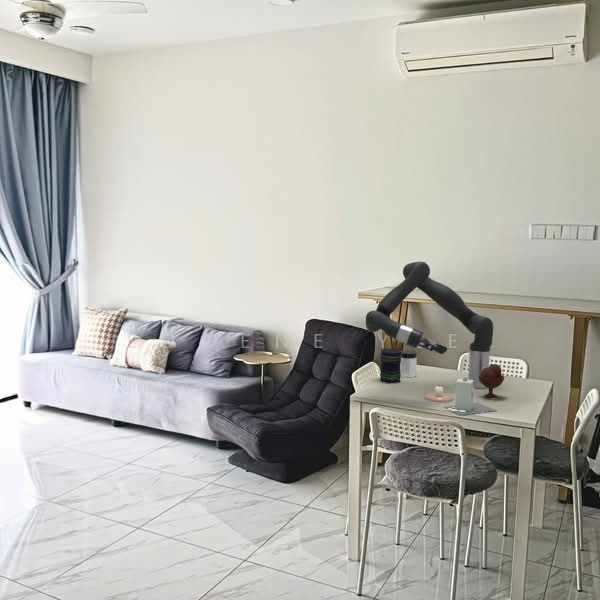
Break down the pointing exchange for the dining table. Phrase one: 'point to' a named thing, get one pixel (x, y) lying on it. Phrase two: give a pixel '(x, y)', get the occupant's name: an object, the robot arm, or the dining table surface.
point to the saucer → (432, 397)
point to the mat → (473, 409)
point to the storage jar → (390, 365)
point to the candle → (439, 391)
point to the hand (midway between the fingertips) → (445, 351)
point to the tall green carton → (464, 394)
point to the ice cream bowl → (491, 378)
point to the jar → (408, 363)
